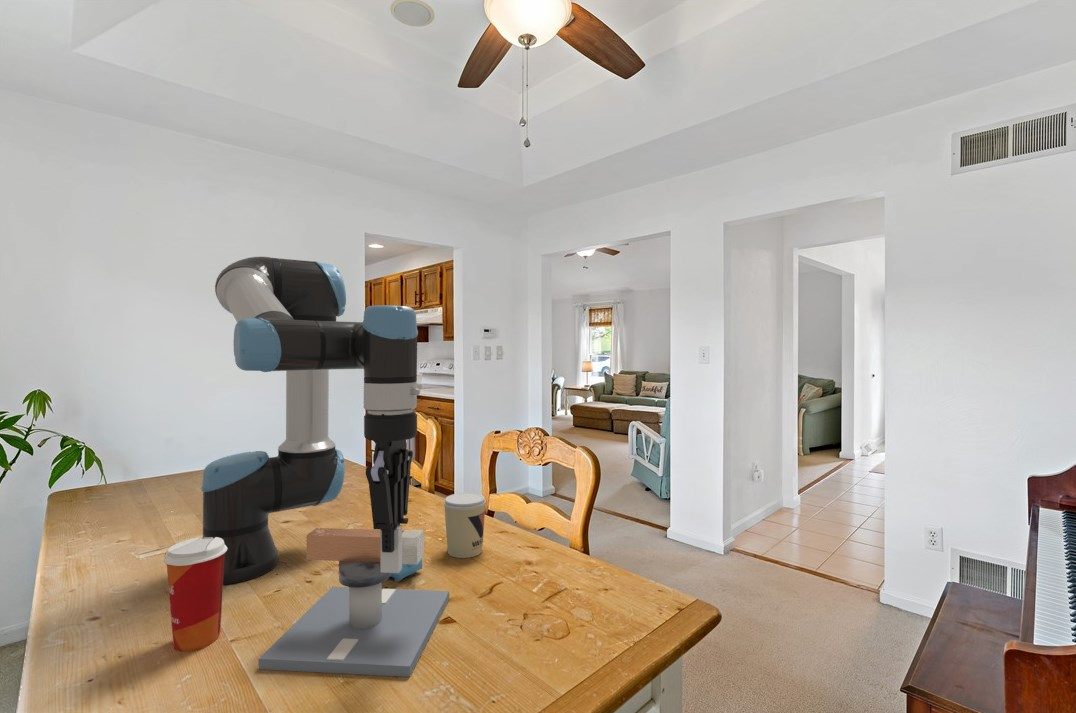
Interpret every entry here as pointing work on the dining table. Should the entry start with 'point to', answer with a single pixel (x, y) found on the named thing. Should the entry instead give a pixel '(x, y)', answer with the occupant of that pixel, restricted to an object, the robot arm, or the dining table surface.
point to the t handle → (360, 553)
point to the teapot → (407, 570)
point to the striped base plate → (360, 632)
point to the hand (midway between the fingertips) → (391, 570)
